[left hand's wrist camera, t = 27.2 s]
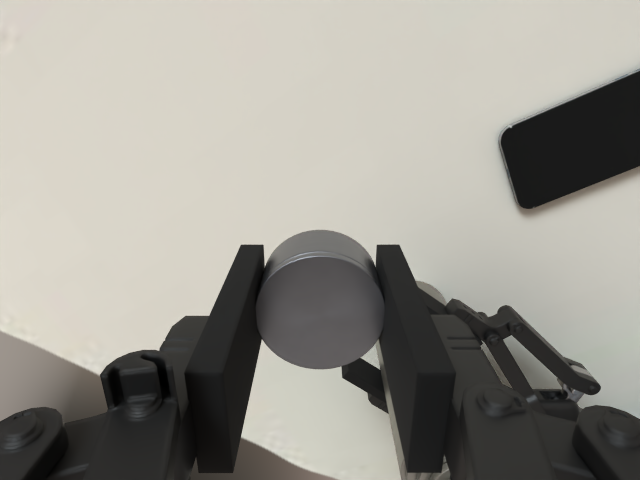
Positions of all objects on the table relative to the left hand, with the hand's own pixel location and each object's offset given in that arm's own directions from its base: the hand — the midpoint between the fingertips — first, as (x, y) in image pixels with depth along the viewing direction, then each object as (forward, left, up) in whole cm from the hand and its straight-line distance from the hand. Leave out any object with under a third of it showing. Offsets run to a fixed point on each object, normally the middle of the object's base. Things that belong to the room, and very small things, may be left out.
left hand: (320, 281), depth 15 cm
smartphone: (-21, +5, -21) cm, 31 cm away
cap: (0, 0, +2) cm, 2 cm away
